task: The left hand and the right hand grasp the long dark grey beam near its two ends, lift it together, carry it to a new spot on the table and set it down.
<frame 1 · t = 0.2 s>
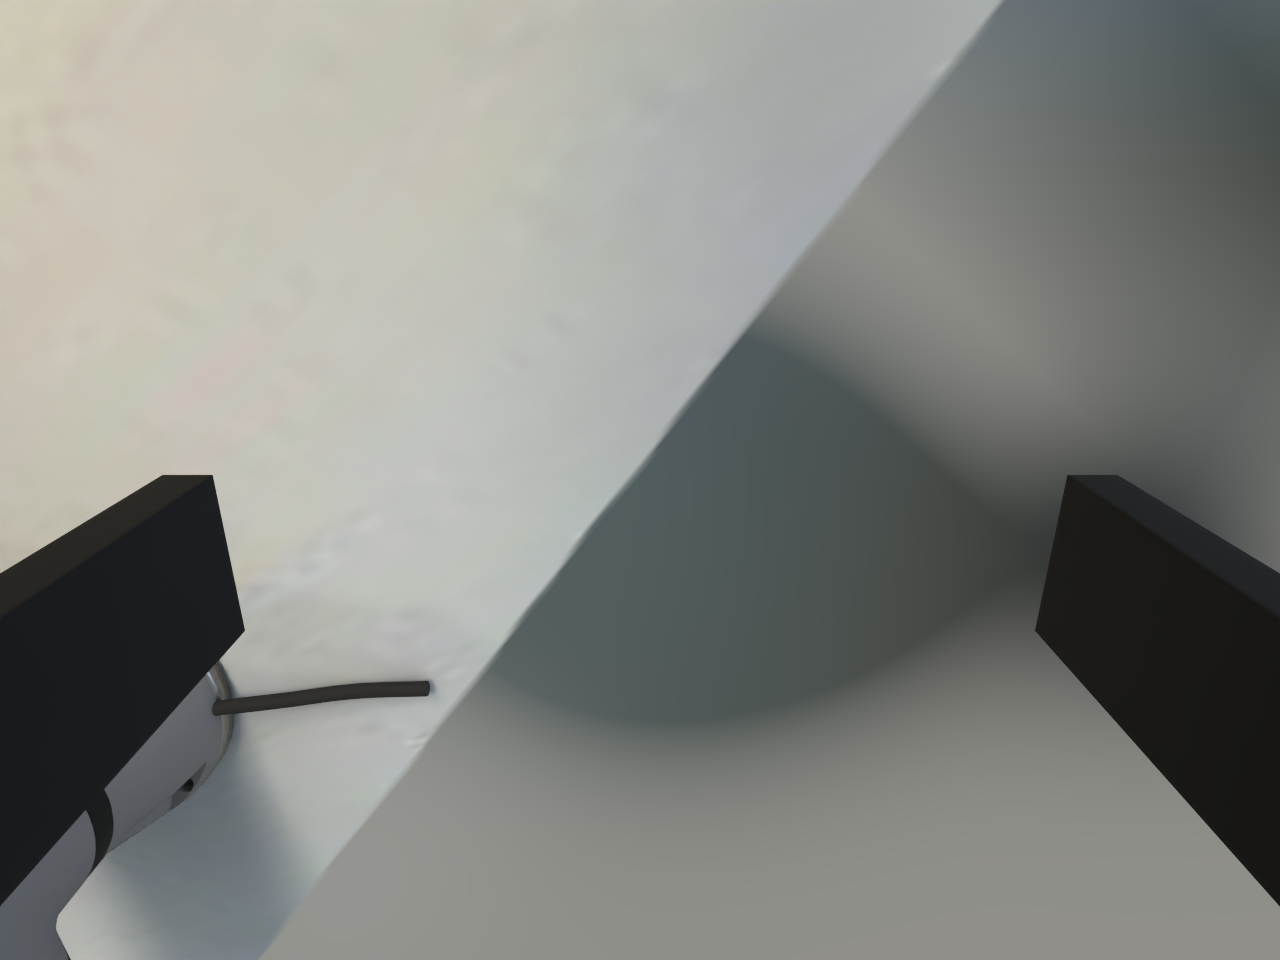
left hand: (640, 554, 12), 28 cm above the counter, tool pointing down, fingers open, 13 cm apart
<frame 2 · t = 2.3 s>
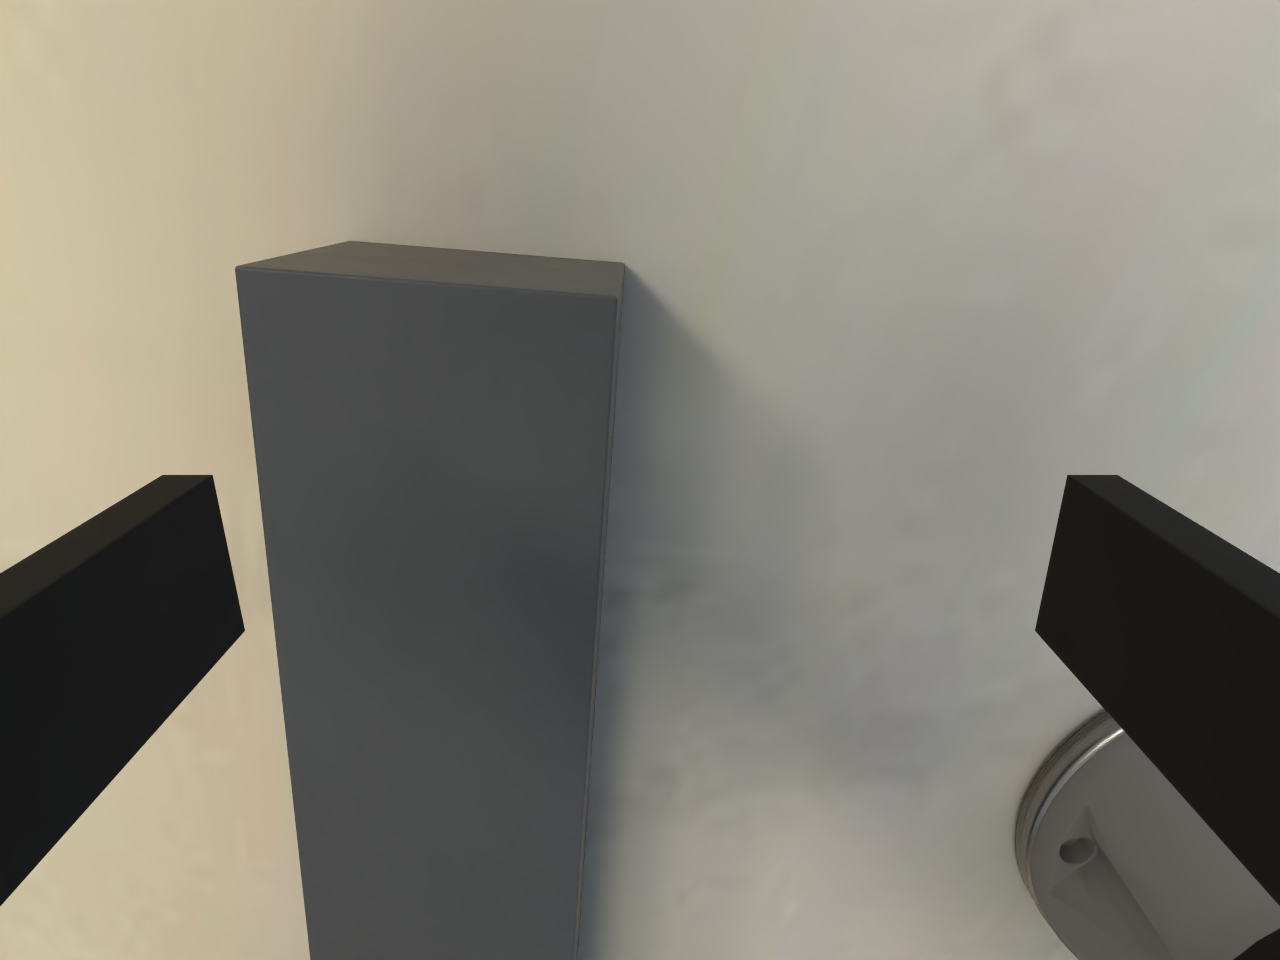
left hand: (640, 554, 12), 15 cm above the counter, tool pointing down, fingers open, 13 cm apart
long dark grey beam: (483, 871, 35), on the counter
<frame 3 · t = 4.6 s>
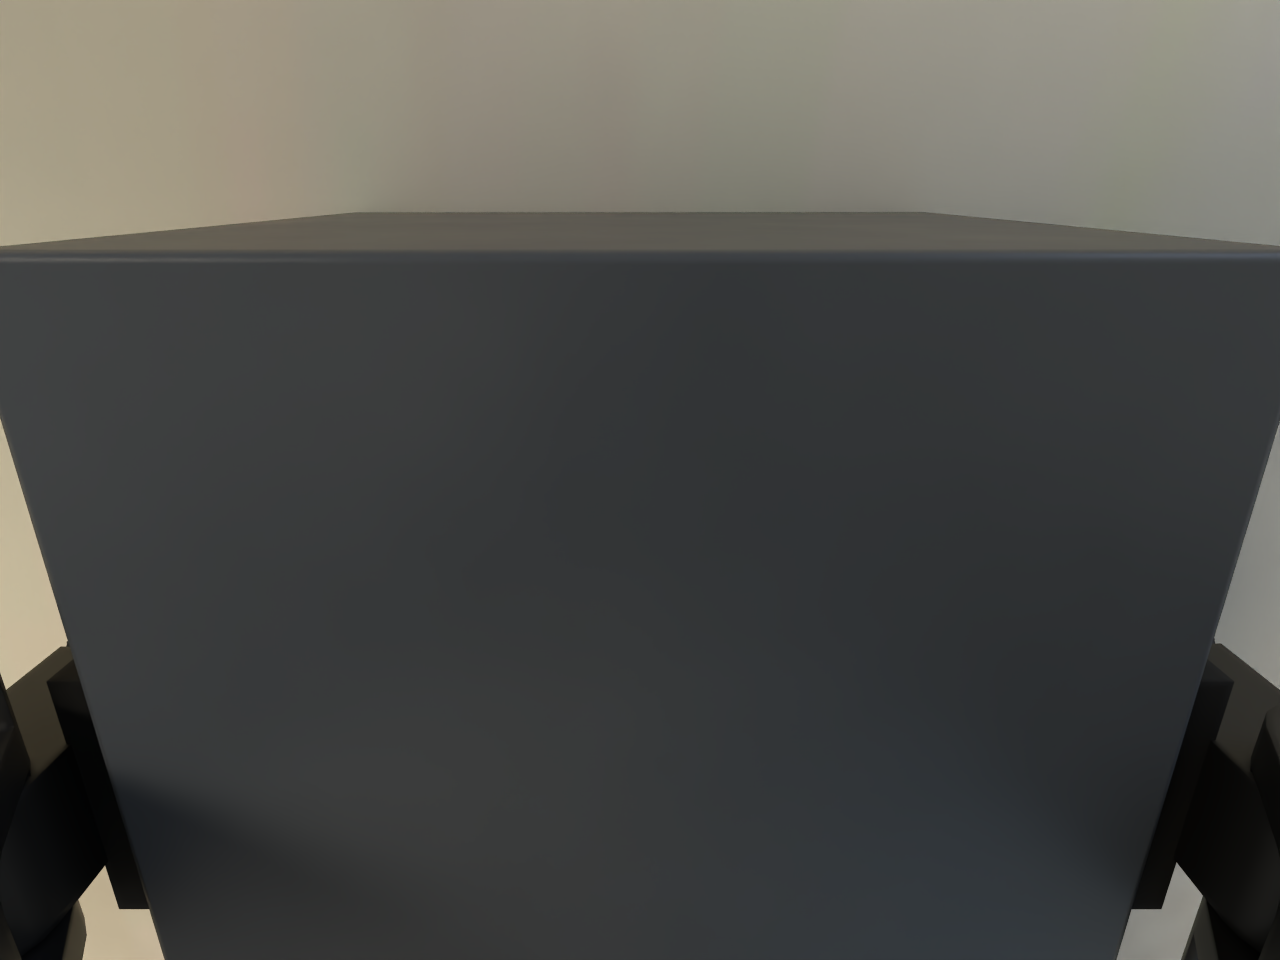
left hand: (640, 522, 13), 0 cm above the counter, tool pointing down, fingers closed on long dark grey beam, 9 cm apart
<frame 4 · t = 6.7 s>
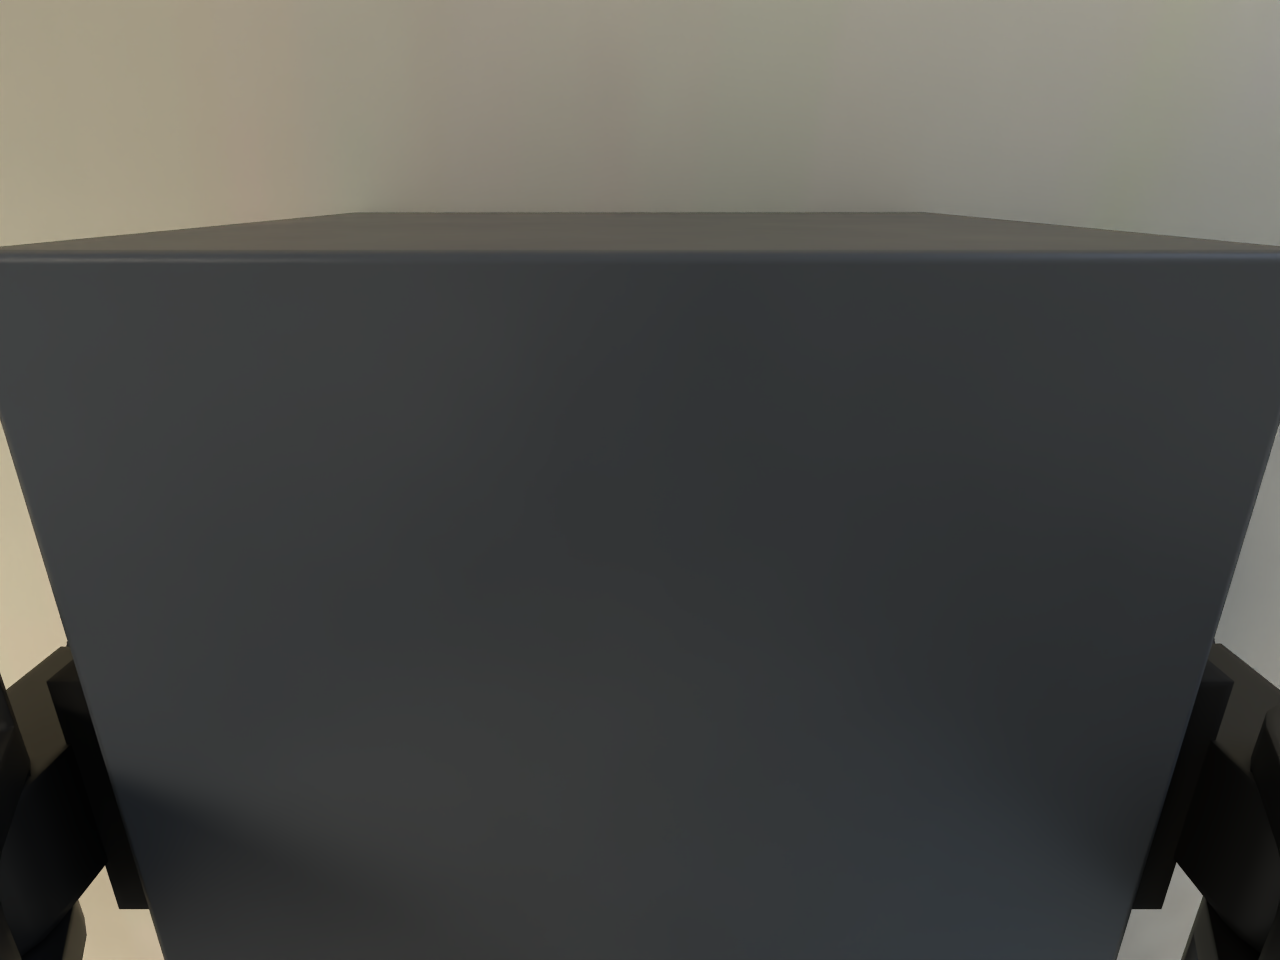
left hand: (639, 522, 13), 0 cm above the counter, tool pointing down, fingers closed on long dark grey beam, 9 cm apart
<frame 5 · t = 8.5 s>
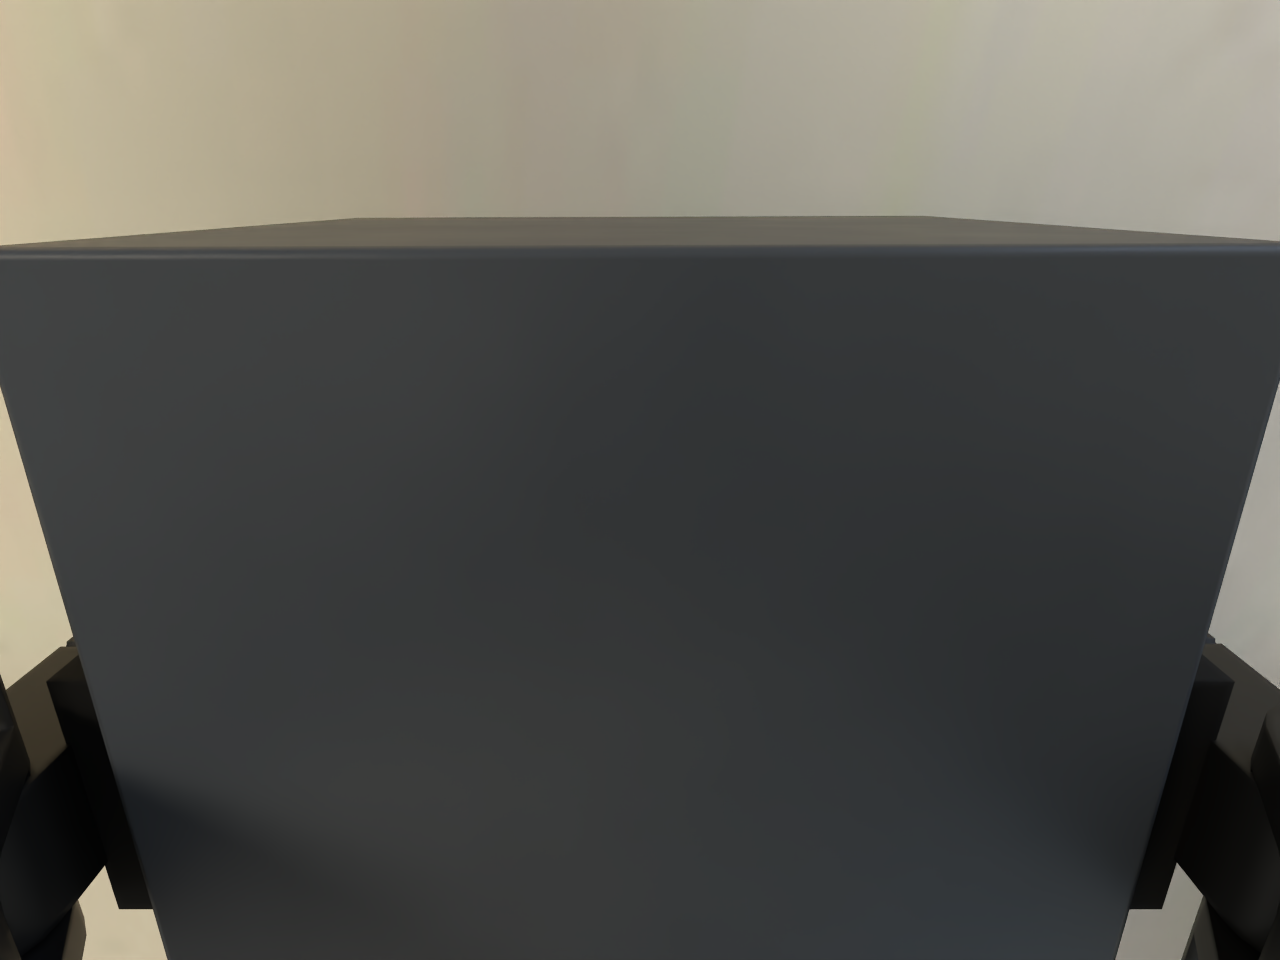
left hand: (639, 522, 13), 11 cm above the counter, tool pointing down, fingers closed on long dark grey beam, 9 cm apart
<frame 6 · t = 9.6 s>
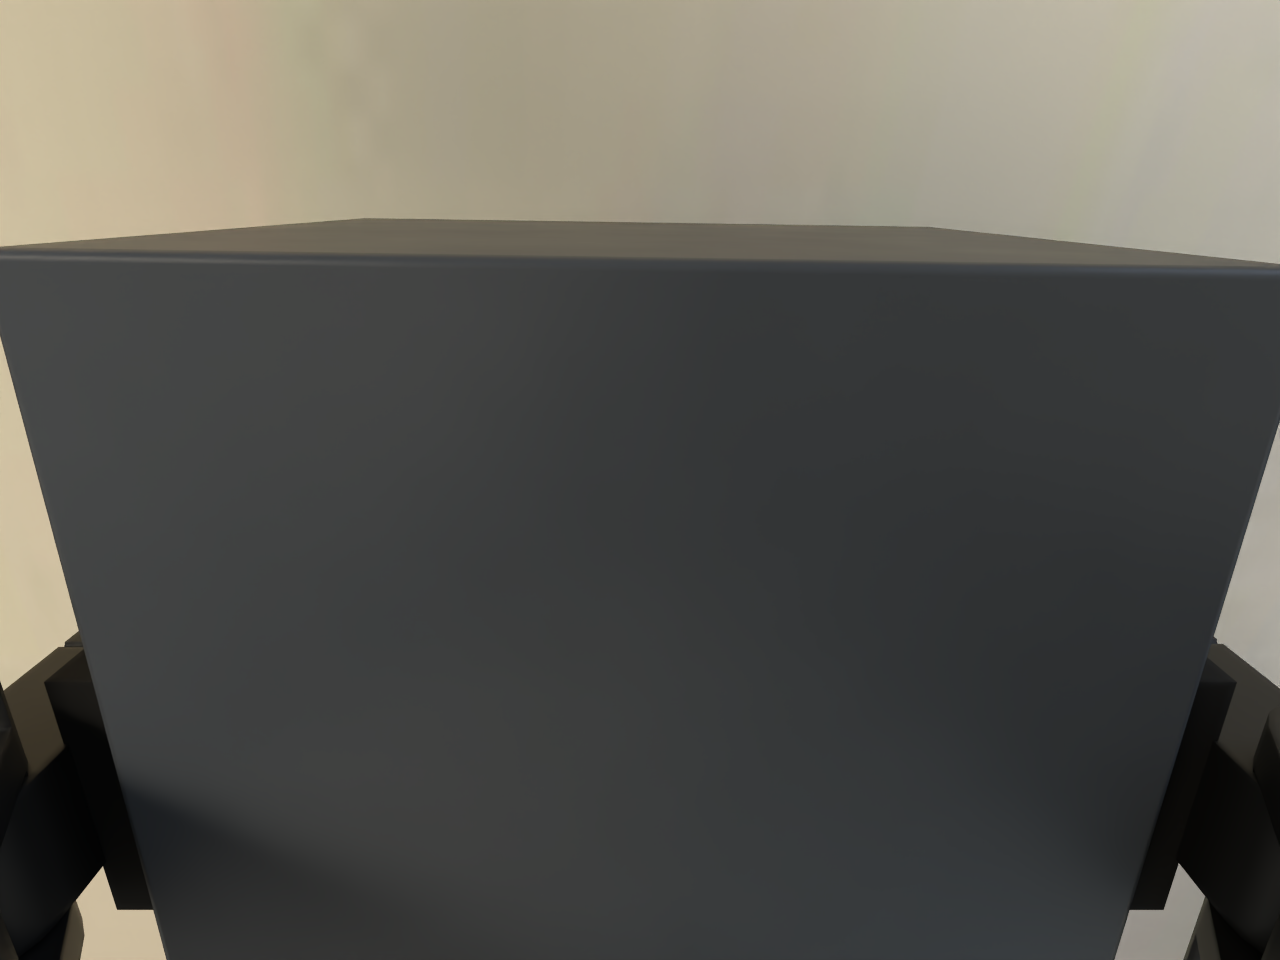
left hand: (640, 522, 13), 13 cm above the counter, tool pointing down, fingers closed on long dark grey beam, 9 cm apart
when the left hand's fingers open (2 cm above the counter, at t = 12.4 s): long dark grey beam drops 1 cm, on the counter.
when the right hand's fingers open (2 cm above the counter, at t = 12.4 s): long dark grey beam drops 1 cm, on the counter.
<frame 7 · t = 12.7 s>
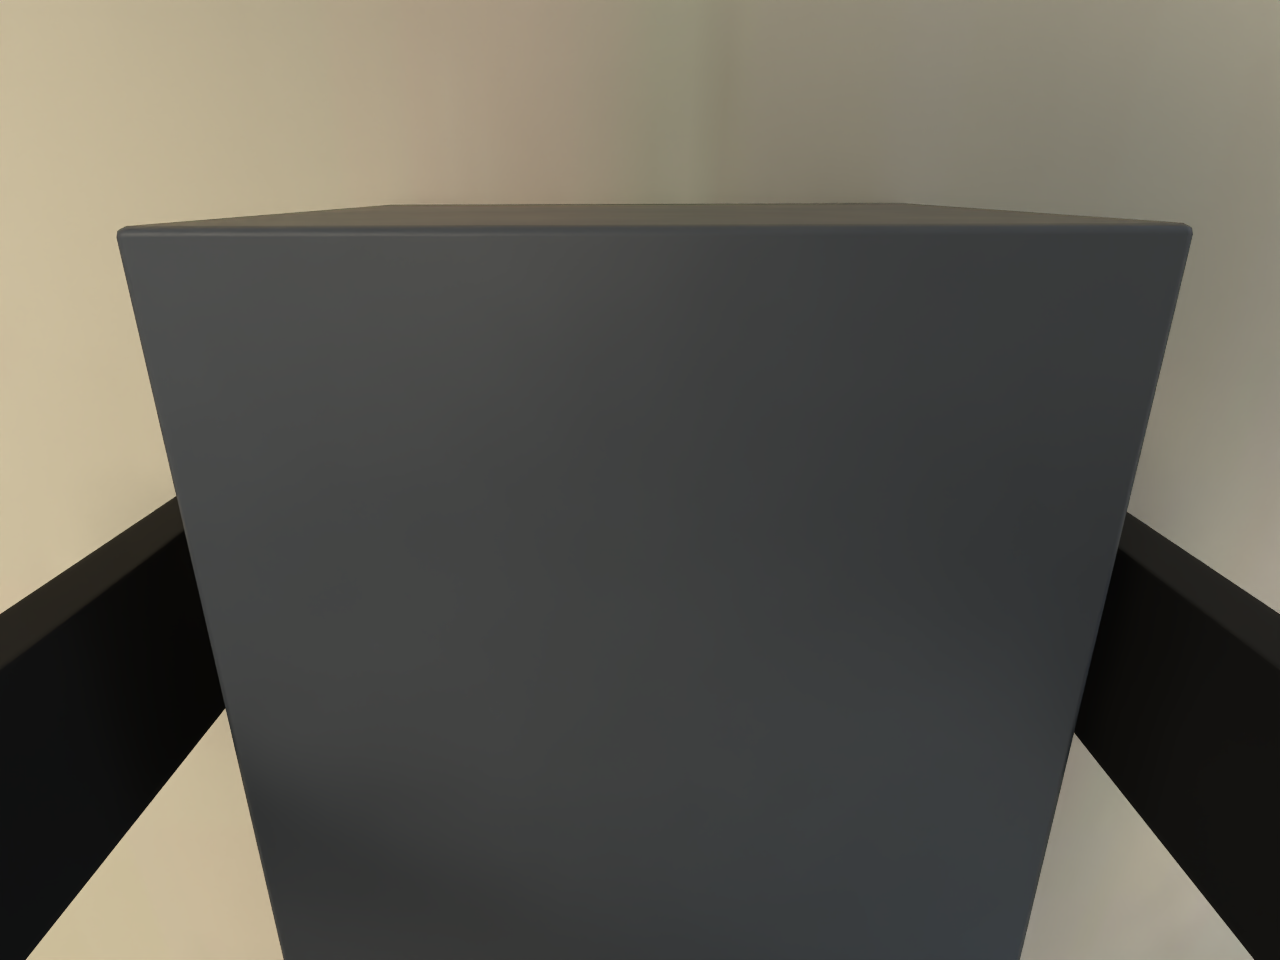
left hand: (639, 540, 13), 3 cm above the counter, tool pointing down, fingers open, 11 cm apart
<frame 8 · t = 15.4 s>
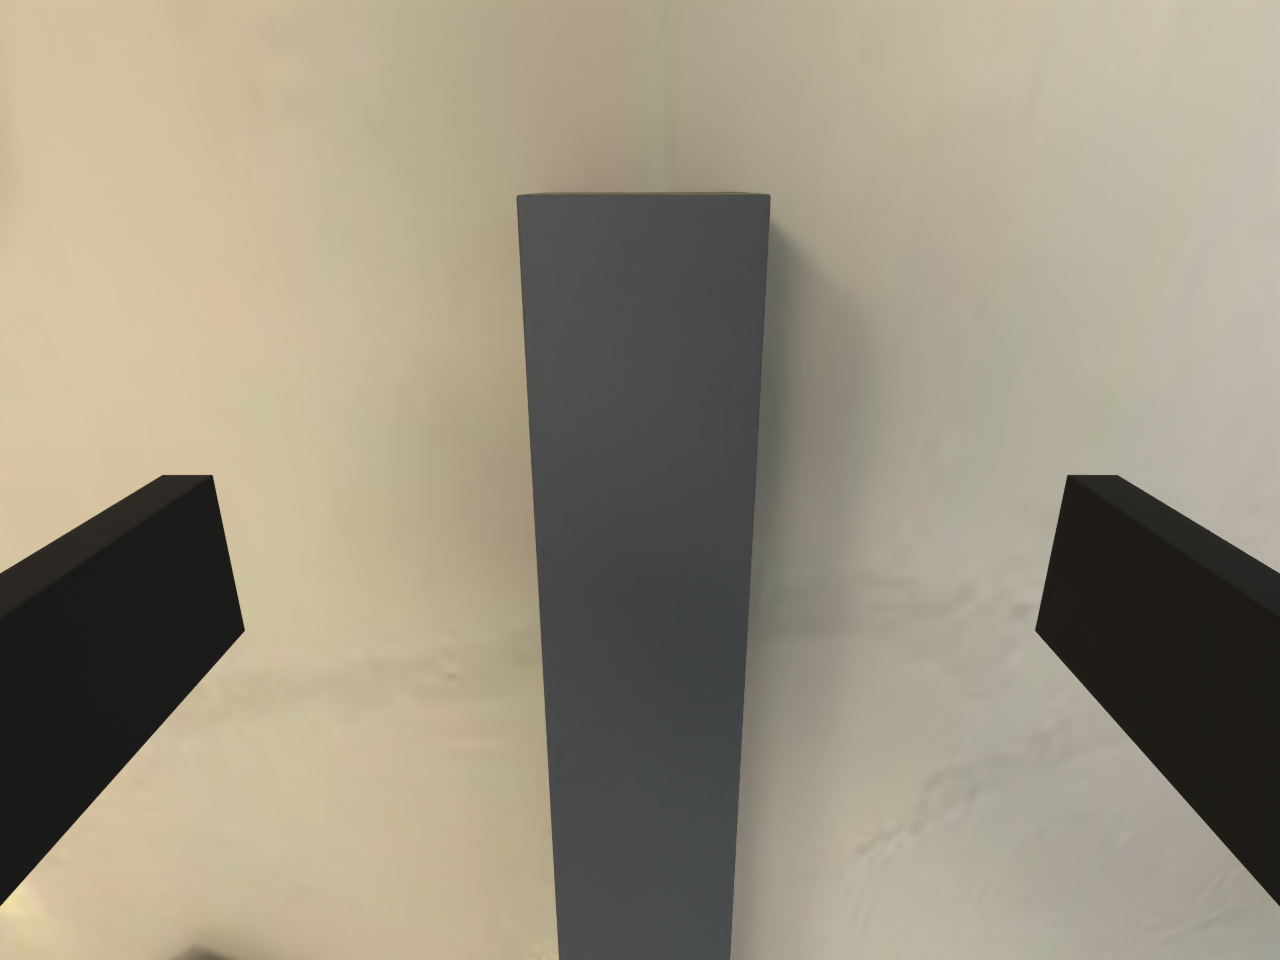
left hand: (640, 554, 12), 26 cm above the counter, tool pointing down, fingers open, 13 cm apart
long dark grey beam: (643, 701, 44), on the counter
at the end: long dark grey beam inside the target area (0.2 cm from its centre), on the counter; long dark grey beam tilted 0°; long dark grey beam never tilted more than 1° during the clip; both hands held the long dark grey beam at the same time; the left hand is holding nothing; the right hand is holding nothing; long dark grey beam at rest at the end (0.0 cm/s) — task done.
